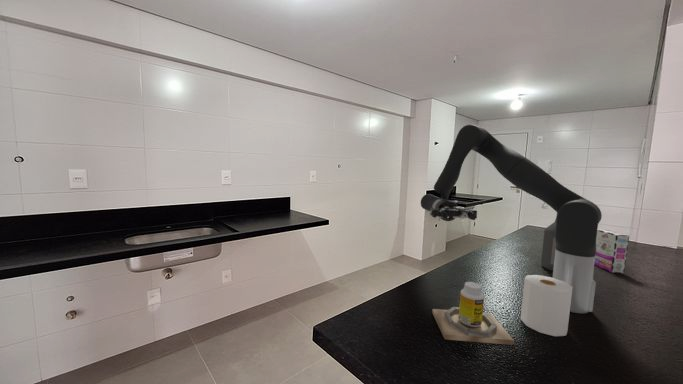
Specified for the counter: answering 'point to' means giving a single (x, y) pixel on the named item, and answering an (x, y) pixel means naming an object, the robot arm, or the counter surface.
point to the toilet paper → (546, 304)
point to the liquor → (549, 247)
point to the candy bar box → (611, 251)
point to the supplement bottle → (471, 305)
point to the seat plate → (470, 328)
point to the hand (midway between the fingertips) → (460, 216)
